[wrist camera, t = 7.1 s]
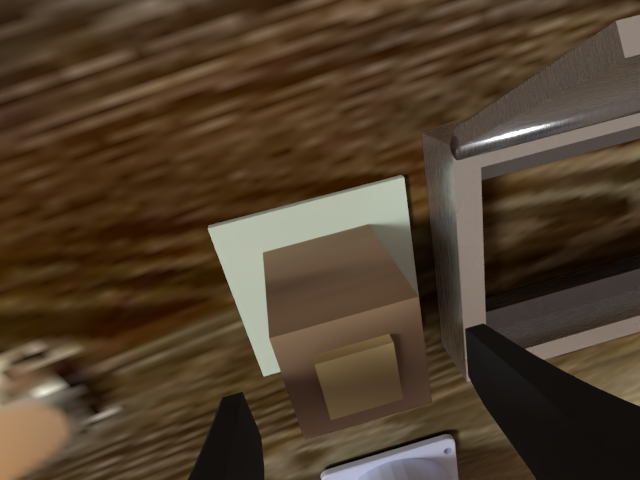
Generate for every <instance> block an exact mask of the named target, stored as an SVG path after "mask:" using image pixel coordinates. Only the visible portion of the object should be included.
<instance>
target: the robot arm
mask: <svg viewBox="0 0 640 480" xmlns="http://www.w3.org/2000/svg"><path fill="white" fill-rule="evenodd" d="M465 336H466V351H467V365H468V376H469V378H470V380H471V382H472V384H473V386H474V388H475V389H476V391H477V393H478V395H479V397H480V398H481V400H482V402H483V404H484V405H485V407H486V408H487V410H488V411H489V413H490V414H491V416H492V417H493V418H494V420H495V421H496V423H497V424H498V425H499V427H500V428H501V430H502V431H503V432H504V434H505V435H506V437H507V438H508V439H509V441H510V442H511V444H512V445H513V446H514V448H515V449H516V451H517V452H518V453H519V455H520V456H521V458H522V459H523V460H524V462H525V463H526V465H527V466H528V467H529V469H530V470H531V472H532V473H533V475H534V476H535V478H536V479H537V480H640V406H637V405H635V404H632V403H630V402H627V401H625V400H623V399H621V398H618V397H616V396H614V395H612V394H609V393H607V392H605V391H603V390H600V389H598V388H596V387H594V386H592V385H590V384H588V383H586V382H584V381H582V380H580V379H578V378H576V377H574V376H572V375H570V374H568V373H566V372H564V371H562V370H561V369H559V368H557V367H555V366H553V365H552V364H550V363H548V362H546V361H545V360H543V359H541V358H539V357H538V356H536V355H534V354H532V353H531V352H529V351H527V350H526V349H524V348H522V347H521V346H519V345H518V344H516V343H514V342H513V341H511V340H509V339H508V338H506V337H505V336H503V335H501V334H500V333H498V332H497V331H495V330H493V329H492V328H490V327H489V326H487V325H485V324H484V323H483V324H479V325H476V326H472V327H469V328H465ZM188 480H264V462H263V452H262V442H261V435H260V433H259V431H258V428H257V426H256V423H255V421H254V419H253V416H252V414H251V411H250V409H249V407H248V404H247V402H246V399H245V397H244V395H243V392H241V393H237V394H234V395H230V396H227V397H223V398H222V400H221V401H220V404H219V407H218V410H217V412H216V415H215V418H214V420H213V423H212V425H211V428H210V430H209V433H208V435H207V438H206V440H205V443H204V445H203V447H202V449H201V452H200V454H199V456H198V458H197V461H196V463H195V465H194V467H193V470H192V472H191V474H190V476H189V478H188ZM321 480H458V469H457V458H456V447H455V441H454V439H453V437H452V436H451V435H450V434H443V435H440V436H437V437H433V438H430V439H427V440H423V441H420V442H417V443H413V444H410V445H407V446H403V447H400V448H397V449H393V450H390V451H386V452H383V453H380V454H376V455H373V456H370V457H366V458H363V459H360V460H356V461H353V462H350V463H346V464H343V465H340V466H336V467H333V468H330V469H327V470H325V471H323V472H322V474H321Z"/></svg>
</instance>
